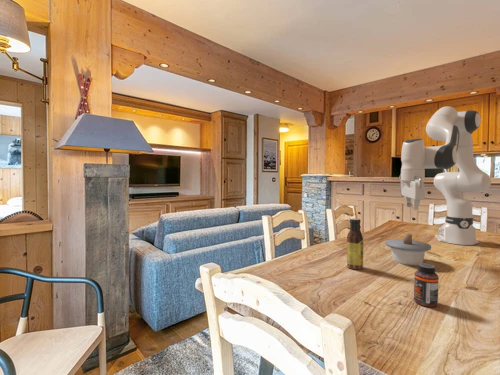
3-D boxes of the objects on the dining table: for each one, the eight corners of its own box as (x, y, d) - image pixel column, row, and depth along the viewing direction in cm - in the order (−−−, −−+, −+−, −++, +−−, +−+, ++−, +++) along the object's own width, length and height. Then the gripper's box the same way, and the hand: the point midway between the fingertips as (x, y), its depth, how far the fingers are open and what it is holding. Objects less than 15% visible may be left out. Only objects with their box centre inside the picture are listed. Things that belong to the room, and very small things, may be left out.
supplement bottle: (409, 298, 83) (410, 262, 82) (427, 298, 83) (428, 261, 83) (423, 308, 77) (424, 269, 76) (442, 307, 77) (444, 268, 77)
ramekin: (412, 268, 110) (413, 251, 109) (383, 259, 121) (383, 244, 121) (432, 263, 116) (432, 247, 115) (402, 255, 127) (402, 240, 127)
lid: (382, 240, 129) (382, 229, 128) (423, 242, 124) (423, 231, 124) (390, 249, 112) (390, 237, 112) (437, 252, 108) (438, 240, 107)
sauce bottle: (364, 270, 107) (365, 220, 106) (347, 269, 108) (348, 220, 107) (361, 265, 113) (362, 218, 113) (345, 264, 115) (346, 217, 114)
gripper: (429, 176, 107) (429, 211, 108) (413, 175, 127) (412, 205, 128) (411, 177, 109) (411, 211, 110) (398, 176, 129) (398, 205, 129)
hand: (412, 208), depth 119 cm, fingers open, 8 cm apart
